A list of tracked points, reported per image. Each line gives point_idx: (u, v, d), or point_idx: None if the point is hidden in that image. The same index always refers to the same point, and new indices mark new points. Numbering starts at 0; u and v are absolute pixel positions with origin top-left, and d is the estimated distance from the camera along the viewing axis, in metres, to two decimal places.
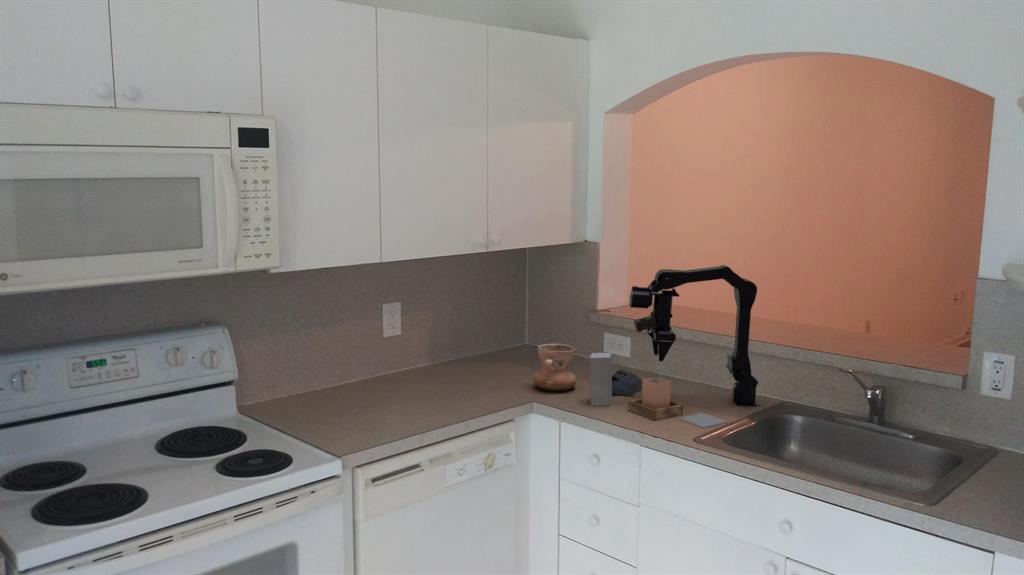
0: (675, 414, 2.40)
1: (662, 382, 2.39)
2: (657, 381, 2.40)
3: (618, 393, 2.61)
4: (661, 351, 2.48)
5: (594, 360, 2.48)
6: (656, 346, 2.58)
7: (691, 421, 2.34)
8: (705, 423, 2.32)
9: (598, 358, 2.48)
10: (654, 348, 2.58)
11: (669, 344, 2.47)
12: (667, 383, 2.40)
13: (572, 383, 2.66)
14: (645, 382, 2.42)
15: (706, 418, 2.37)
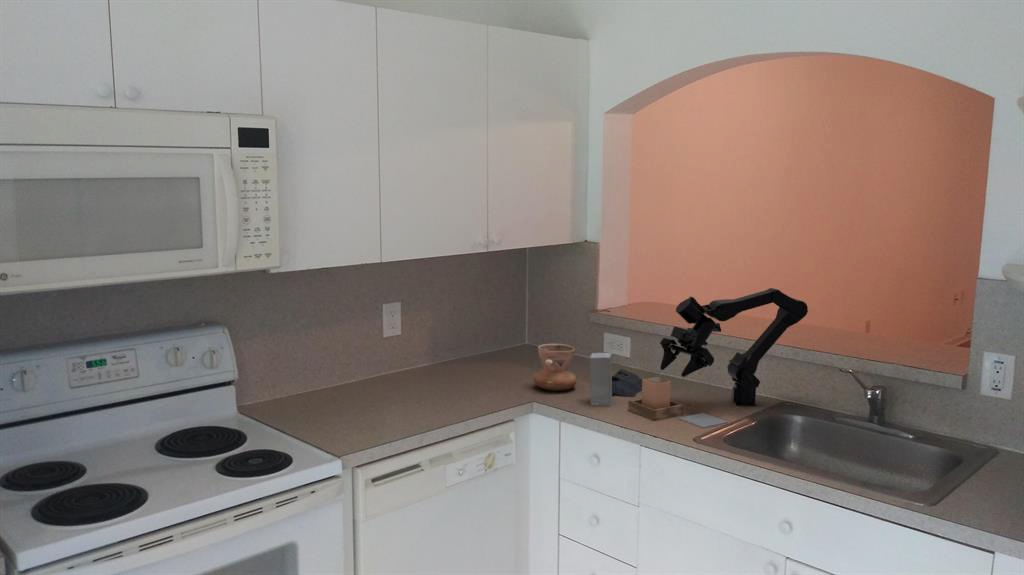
0: (675, 414, 2.40)
1: (662, 382, 2.39)
2: (657, 381, 2.40)
3: (619, 393, 2.60)
4: (690, 367, 2.41)
5: (594, 360, 2.48)
6: (666, 362, 2.49)
7: (691, 421, 2.34)
8: (705, 423, 2.32)
9: (598, 358, 2.48)
10: (664, 363, 2.49)
11: (700, 366, 2.42)
12: (667, 383, 2.40)
13: (572, 383, 2.66)
14: (645, 382, 2.42)
15: (706, 418, 2.37)
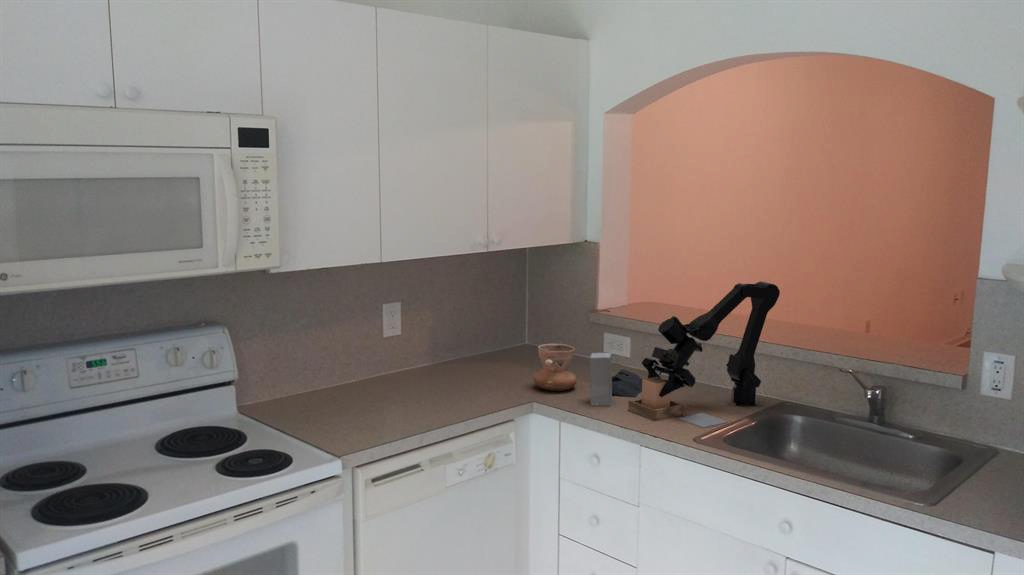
0: (675, 414, 2.40)
1: (662, 382, 2.39)
2: (657, 381, 2.40)
3: (621, 394, 2.60)
4: (668, 387, 2.39)
5: (594, 360, 2.48)
6: None
7: (691, 421, 2.34)
8: (705, 423, 2.32)
9: (598, 358, 2.48)
10: None
11: (678, 386, 2.40)
12: None
13: (572, 383, 2.66)
14: (645, 382, 2.42)
15: (706, 418, 2.37)
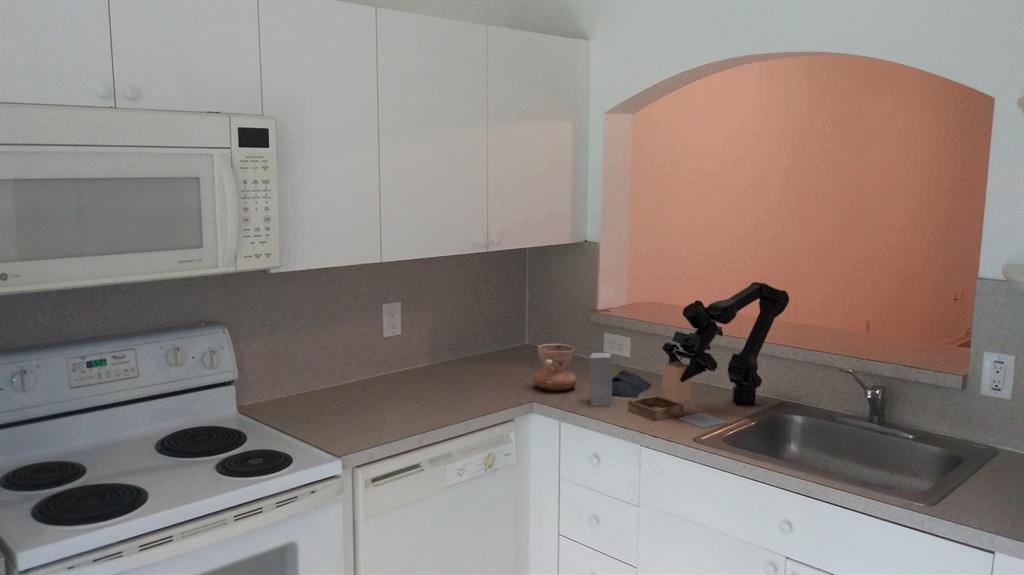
0: (675, 414, 2.40)
1: (683, 367, 2.36)
2: (678, 366, 2.36)
3: (622, 394, 2.60)
4: (689, 372, 2.35)
5: (594, 360, 2.48)
6: None
7: (691, 421, 2.34)
8: (705, 423, 2.32)
9: (598, 358, 2.48)
10: None
11: (699, 370, 2.36)
12: None
13: (572, 383, 2.66)
14: (666, 367, 2.38)
15: (706, 418, 2.37)
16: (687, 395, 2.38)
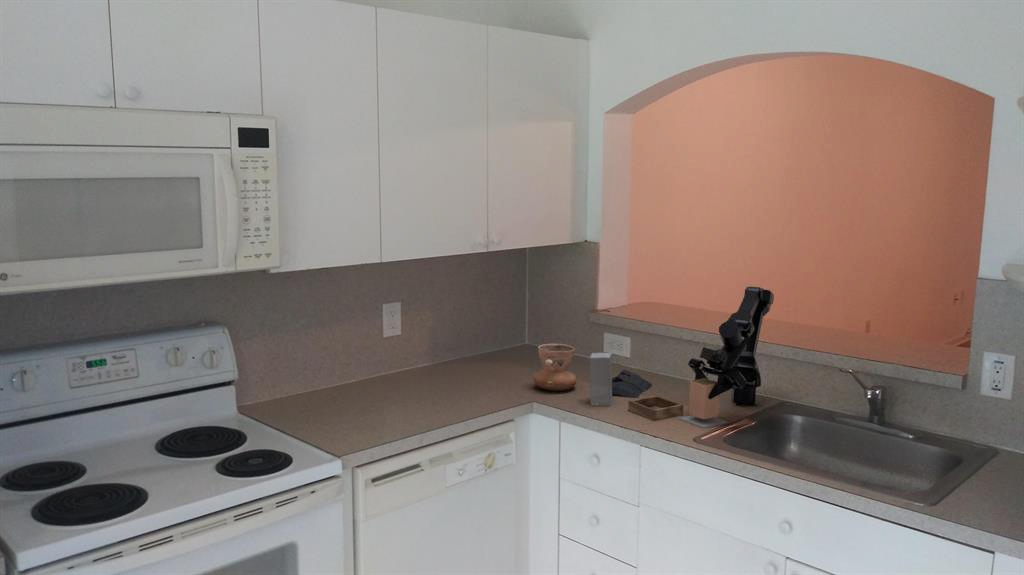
0: (675, 414, 2.40)
1: (711, 384, 2.32)
2: (706, 383, 2.32)
3: (623, 394, 2.59)
4: (717, 389, 2.31)
5: (594, 360, 2.48)
6: None
7: (691, 421, 2.34)
8: (705, 423, 2.32)
9: (598, 358, 2.48)
10: None
11: (727, 387, 2.32)
12: None
13: (572, 383, 2.66)
14: (693, 384, 2.34)
15: None
16: (714, 412, 2.34)
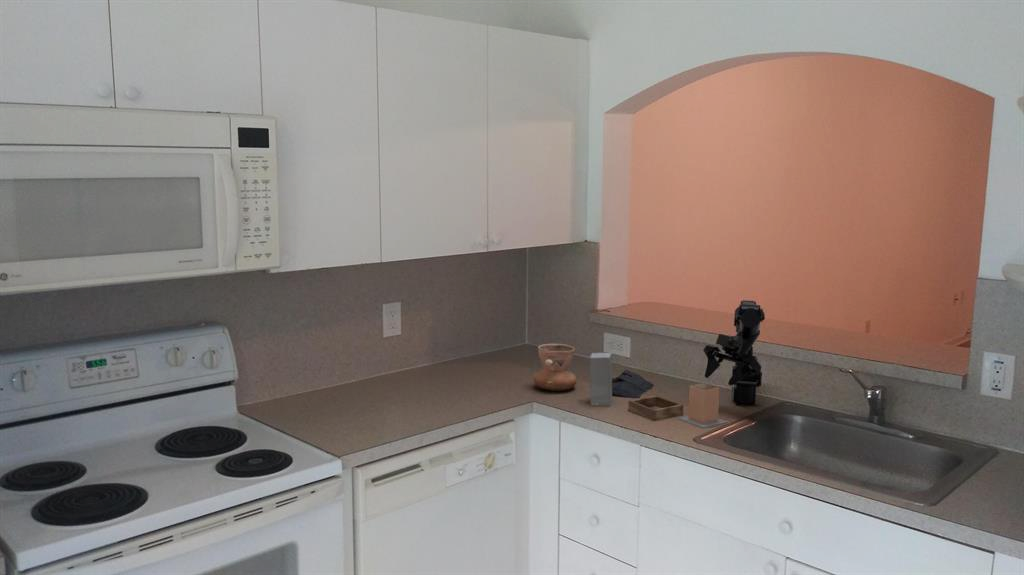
0: (675, 414, 2.40)
1: (710, 388, 2.32)
2: (705, 387, 2.32)
3: (624, 394, 2.59)
4: (737, 376, 2.37)
5: (594, 360, 2.48)
6: (710, 370, 2.45)
7: (691, 421, 2.34)
8: None
9: (598, 358, 2.48)
10: (708, 371, 2.45)
11: (746, 374, 2.38)
12: (715, 389, 2.33)
13: (572, 383, 2.66)
14: (692, 388, 2.34)
15: None
16: (714, 417, 2.34)
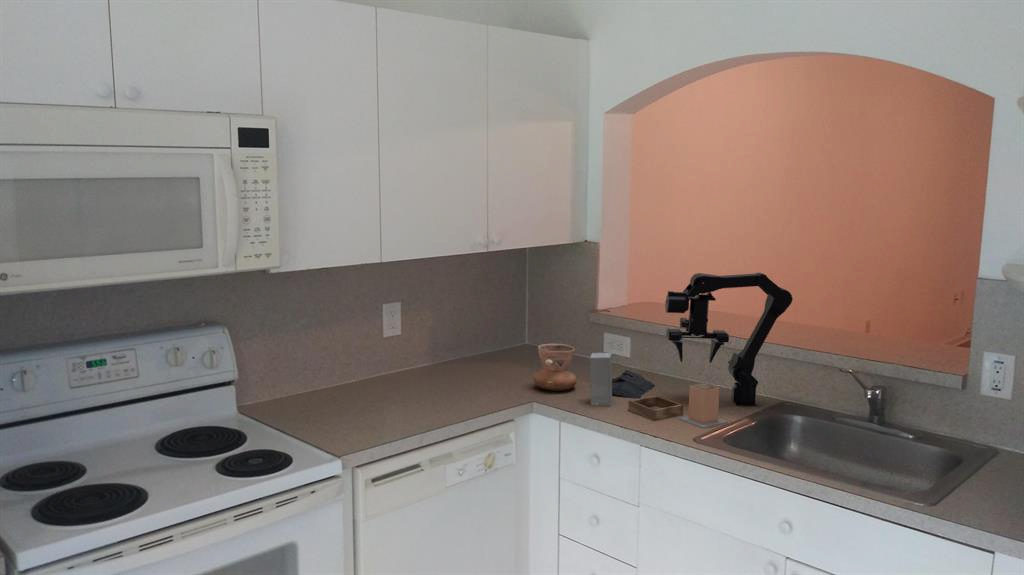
0: (675, 414, 2.40)
1: (710, 388, 2.32)
2: (705, 387, 2.32)
3: (625, 395, 2.59)
4: None
5: (594, 360, 2.48)
6: (710, 353, 2.54)
7: (691, 421, 2.34)
8: None
9: (598, 358, 2.48)
10: None
11: (677, 344, 2.52)
12: (715, 389, 2.33)
13: (572, 383, 2.66)
14: (692, 388, 2.34)
15: None
16: (714, 417, 2.34)
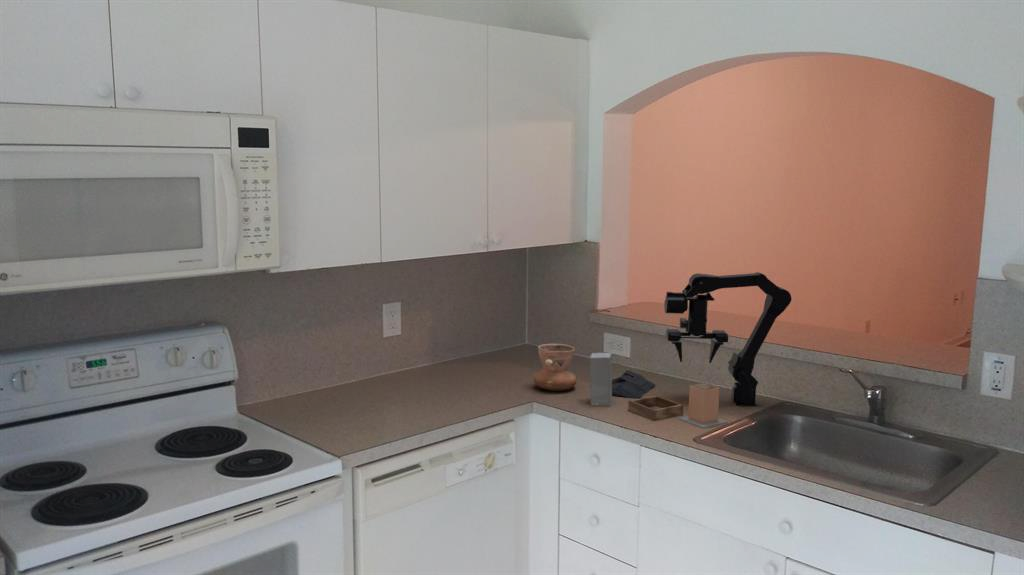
0: (675, 414, 2.40)
1: (710, 388, 2.32)
2: (705, 387, 2.32)
3: (626, 395, 2.59)
4: (677, 351, 2.55)
5: (594, 360, 2.48)
6: (710, 353, 2.54)
7: (691, 421, 2.34)
8: None
9: (598, 358, 2.48)
10: (709, 355, 2.55)
11: None
12: (715, 389, 2.33)
13: (572, 383, 2.66)
14: (692, 388, 2.34)
15: None
16: (714, 417, 2.34)
